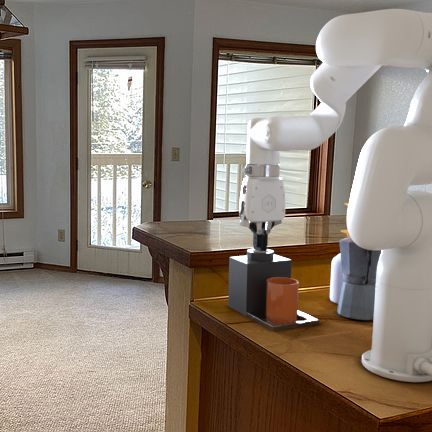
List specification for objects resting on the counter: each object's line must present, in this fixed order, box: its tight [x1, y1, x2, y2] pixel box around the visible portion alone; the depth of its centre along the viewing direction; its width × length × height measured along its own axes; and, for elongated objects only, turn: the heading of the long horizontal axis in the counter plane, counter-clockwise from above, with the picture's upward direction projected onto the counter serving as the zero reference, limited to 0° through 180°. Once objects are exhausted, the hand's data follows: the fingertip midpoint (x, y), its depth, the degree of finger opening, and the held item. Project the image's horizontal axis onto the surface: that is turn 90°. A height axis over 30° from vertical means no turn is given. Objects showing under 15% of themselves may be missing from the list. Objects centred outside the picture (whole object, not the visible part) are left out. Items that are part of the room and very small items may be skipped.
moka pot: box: [336, 237, 382, 321], centre depth 125 cm, size 10×15×20 cm, turn 174°
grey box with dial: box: [227, 248, 293, 317], centre depth 131 cm, size 8×12×14 cm, turn 112°
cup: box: [265, 277, 300, 324], centre depth 123 cm, size 7×7×9 cm
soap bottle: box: [329, 202, 350, 305], centre depth 136 cm, size 9×9×25 cm
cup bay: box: [245, 309, 320, 332], centre depth 124 cm, size 10×12×1 cm
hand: (260, 249), depth 130 cm, fingers closed
